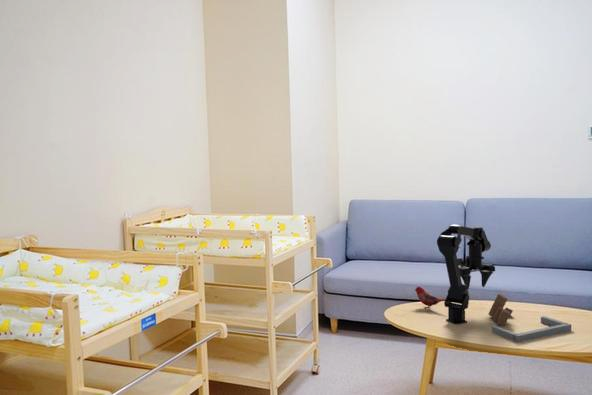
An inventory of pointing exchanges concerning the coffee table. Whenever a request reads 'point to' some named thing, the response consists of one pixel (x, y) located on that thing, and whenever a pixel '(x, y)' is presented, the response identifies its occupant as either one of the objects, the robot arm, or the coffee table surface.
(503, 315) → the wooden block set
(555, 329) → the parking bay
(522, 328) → the coffee table surface
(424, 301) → the decorative bird figurine
